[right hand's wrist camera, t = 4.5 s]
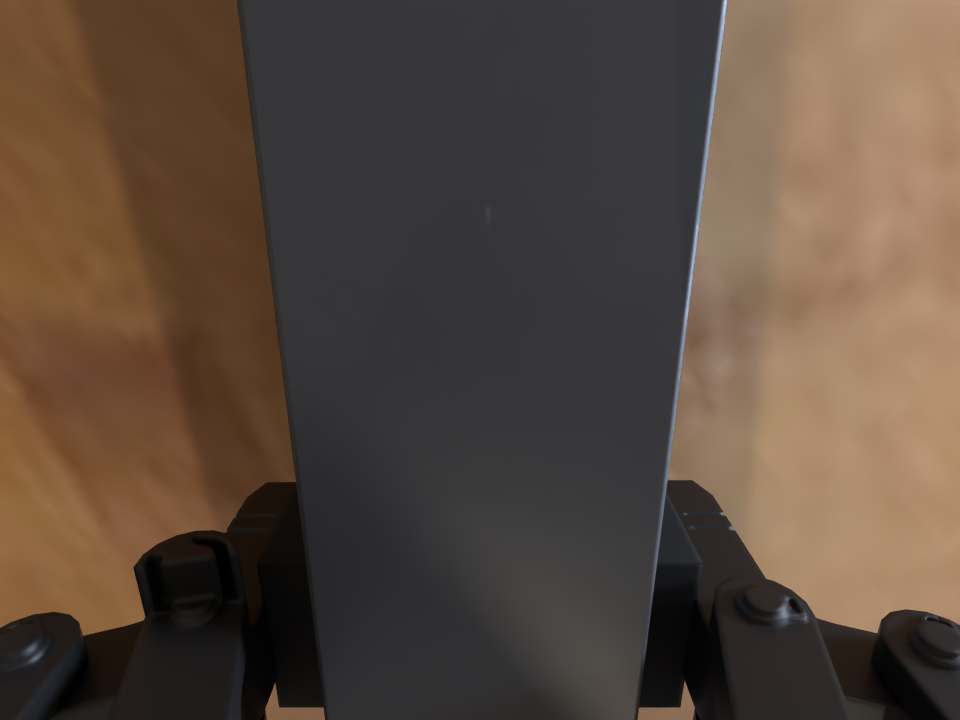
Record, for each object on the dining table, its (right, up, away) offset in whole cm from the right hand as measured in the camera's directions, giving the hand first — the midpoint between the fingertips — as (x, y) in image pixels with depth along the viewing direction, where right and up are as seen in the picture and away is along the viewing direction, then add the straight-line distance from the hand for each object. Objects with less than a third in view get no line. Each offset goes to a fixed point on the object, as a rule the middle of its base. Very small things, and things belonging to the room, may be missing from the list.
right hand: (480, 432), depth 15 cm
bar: (0, +10, -4) cm, 11 cm away
